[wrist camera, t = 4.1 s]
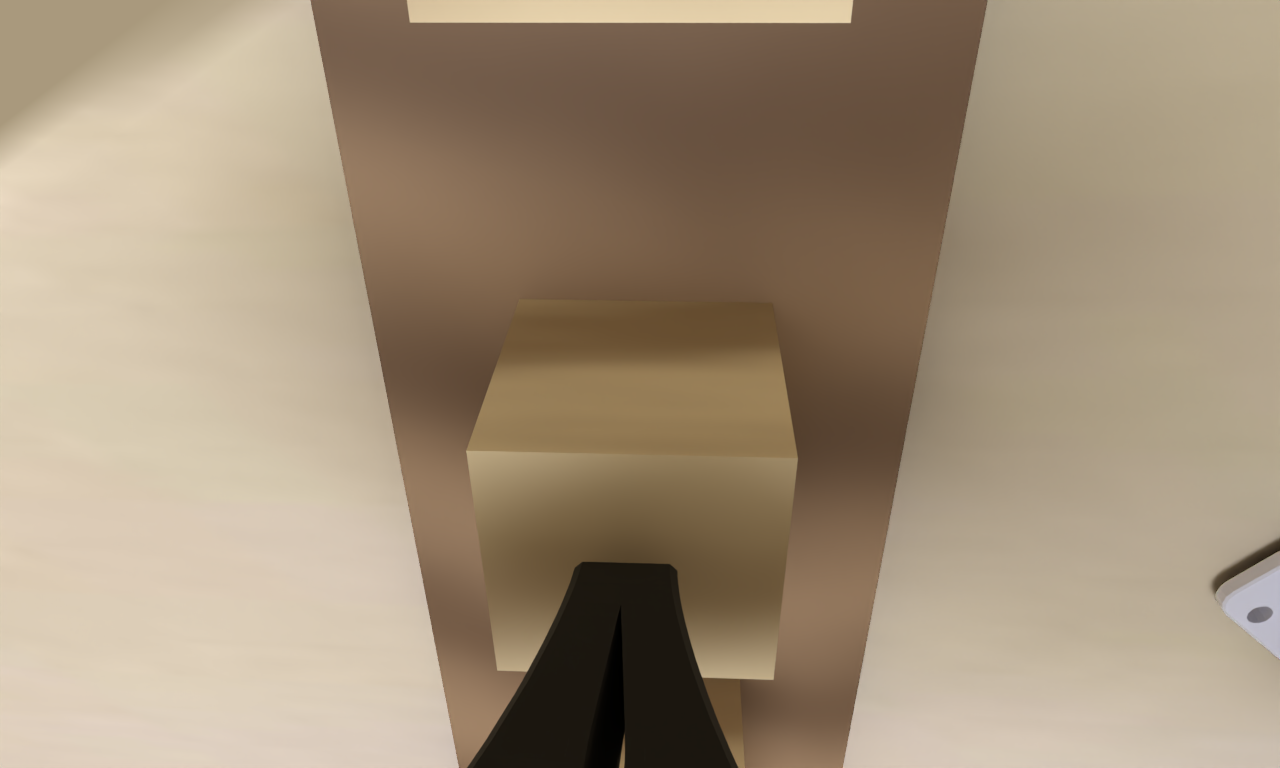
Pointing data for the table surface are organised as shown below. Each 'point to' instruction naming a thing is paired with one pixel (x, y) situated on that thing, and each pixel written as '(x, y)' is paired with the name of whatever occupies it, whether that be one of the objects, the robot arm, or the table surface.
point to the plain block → (638, 468)
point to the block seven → (723, 715)
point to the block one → (630, 11)
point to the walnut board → (659, 268)
